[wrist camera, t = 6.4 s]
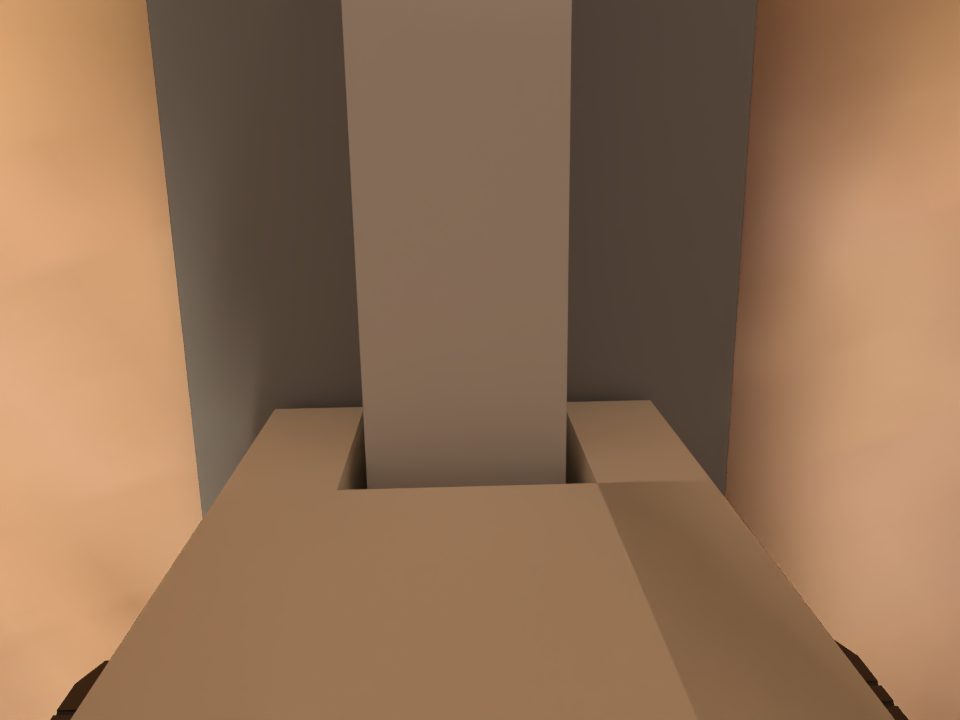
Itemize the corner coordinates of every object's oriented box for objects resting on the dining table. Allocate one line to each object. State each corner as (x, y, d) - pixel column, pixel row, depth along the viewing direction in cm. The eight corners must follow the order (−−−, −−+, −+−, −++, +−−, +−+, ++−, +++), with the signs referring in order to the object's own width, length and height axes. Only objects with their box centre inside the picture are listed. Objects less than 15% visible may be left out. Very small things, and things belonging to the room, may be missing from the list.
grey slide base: (754, -277, 14) (920, -507, 9) (695, 717, 18) (781, 921, 14) (137, -276, 13) (-41, -513, 9) (241, 733, 18) (165, 947, 13)
